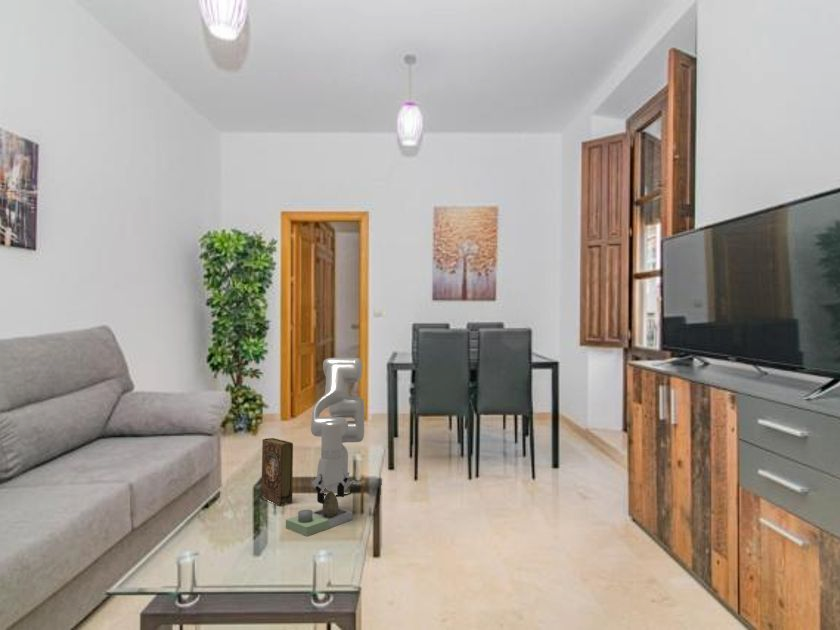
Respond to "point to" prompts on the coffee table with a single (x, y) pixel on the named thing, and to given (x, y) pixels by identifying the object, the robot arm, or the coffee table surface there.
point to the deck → (307, 523)
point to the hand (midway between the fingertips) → (330, 499)
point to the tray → (336, 517)
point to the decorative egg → (330, 505)
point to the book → (277, 470)
